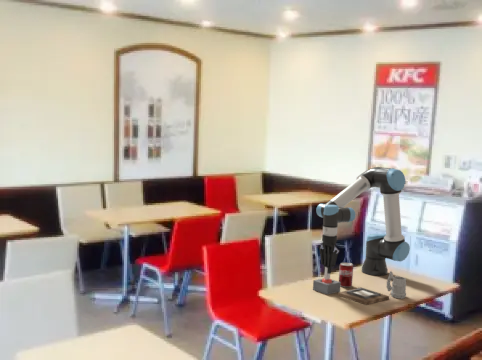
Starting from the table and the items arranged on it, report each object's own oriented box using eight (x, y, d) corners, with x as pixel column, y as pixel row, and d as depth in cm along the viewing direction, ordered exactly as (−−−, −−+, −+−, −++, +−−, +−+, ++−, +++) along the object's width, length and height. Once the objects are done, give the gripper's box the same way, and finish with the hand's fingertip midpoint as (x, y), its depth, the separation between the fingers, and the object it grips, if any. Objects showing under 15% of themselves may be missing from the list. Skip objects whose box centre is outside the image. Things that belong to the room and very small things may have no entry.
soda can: (351, 288, 315) (353, 266, 313) (338, 286, 316) (339, 265, 315) (352, 284, 322) (353, 263, 321) (338, 283, 323) (339, 262, 322)
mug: (399, 299, 298) (400, 276, 296) (381, 293, 307) (382, 271, 306) (409, 297, 302) (410, 274, 301) (391, 291, 312) (392, 269, 310)
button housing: (325, 286, 315) (326, 277, 315) (340, 291, 307) (340, 282, 307) (312, 289, 309) (313, 280, 308) (327, 294, 301) (327, 285, 301)
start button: (326, 286, 311) (326, 277, 311) (333, 289, 308) (333, 279, 307) (319, 288, 308) (320, 278, 308) (326, 290, 304) (327, 281, 304)
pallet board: (360, 290, 312) (361, 285, 312) (388, 298, 298) (389, 294, 298) (338, 295, 300) (338, 290, 300) (366, 304, 287) (366, 299, 286)
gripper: (315, 233, 308) (313, 277, 310) (334, 237, 298) (331, 283, 300) (325, 231, 312) (322, 275, 315) (344, 236, 302) (341, 281, 305)
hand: (327, 278), depth 307 cm, fingers closed
